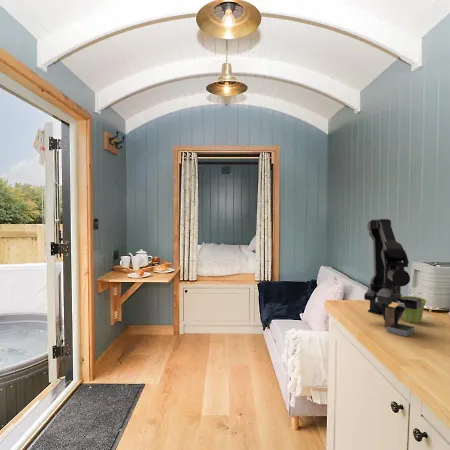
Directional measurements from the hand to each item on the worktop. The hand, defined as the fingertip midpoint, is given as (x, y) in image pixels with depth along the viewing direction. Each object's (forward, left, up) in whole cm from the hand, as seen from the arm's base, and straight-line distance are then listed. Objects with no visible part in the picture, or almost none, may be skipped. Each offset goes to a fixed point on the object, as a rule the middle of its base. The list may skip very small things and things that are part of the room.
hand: (391, 322), depth 133 cm
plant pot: (+3, +13, -2) cm, 13 cm away
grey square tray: (+5, -4, -2) cm, 7 cm away
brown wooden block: (0, 0, -2) cm, 2 cm away
